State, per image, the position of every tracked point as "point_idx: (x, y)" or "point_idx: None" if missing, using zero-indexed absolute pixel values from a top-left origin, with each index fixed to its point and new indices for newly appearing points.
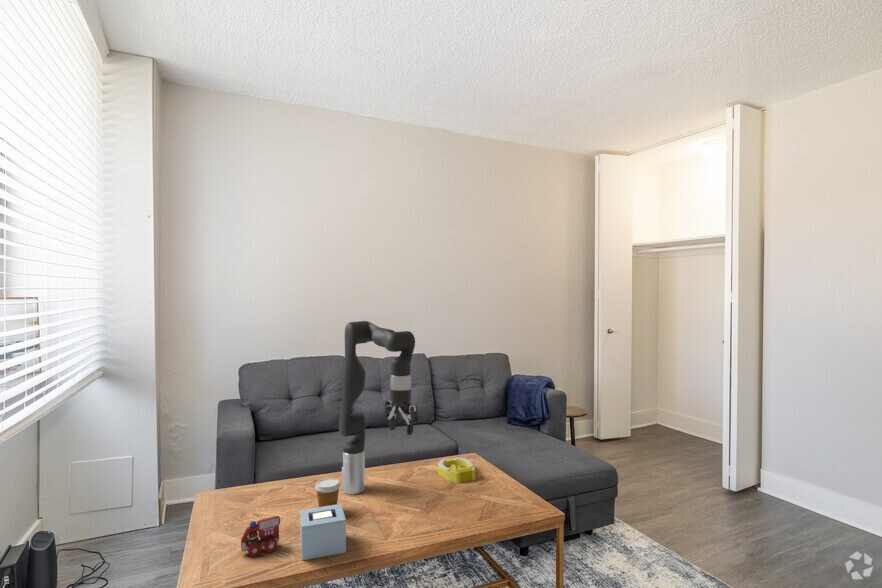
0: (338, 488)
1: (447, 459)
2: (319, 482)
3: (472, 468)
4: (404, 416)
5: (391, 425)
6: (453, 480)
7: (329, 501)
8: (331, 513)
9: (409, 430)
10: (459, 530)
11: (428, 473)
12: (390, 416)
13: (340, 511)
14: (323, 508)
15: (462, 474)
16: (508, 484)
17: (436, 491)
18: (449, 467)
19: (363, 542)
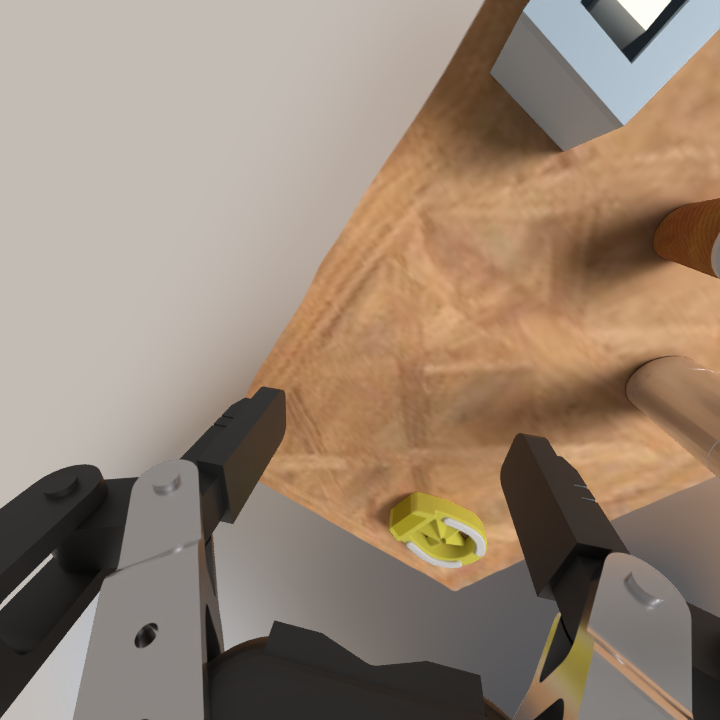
0: (712, 255)
1: (475, 558)
2: None
3: (396, 533)
4: (130, 605)
5: (538, 477)
6: (425, 496)
7: (709, 211)
8: (625, 8)
9: (236, 419)
10: (302, 336)
11: (497, 509)
12: (633, 630)
13: (589, 60)
14: (698, 21)
15: (406, 511)
16: (327, 511)
17: (436, 450)
18: (455, 532)
19: (470, 158)
